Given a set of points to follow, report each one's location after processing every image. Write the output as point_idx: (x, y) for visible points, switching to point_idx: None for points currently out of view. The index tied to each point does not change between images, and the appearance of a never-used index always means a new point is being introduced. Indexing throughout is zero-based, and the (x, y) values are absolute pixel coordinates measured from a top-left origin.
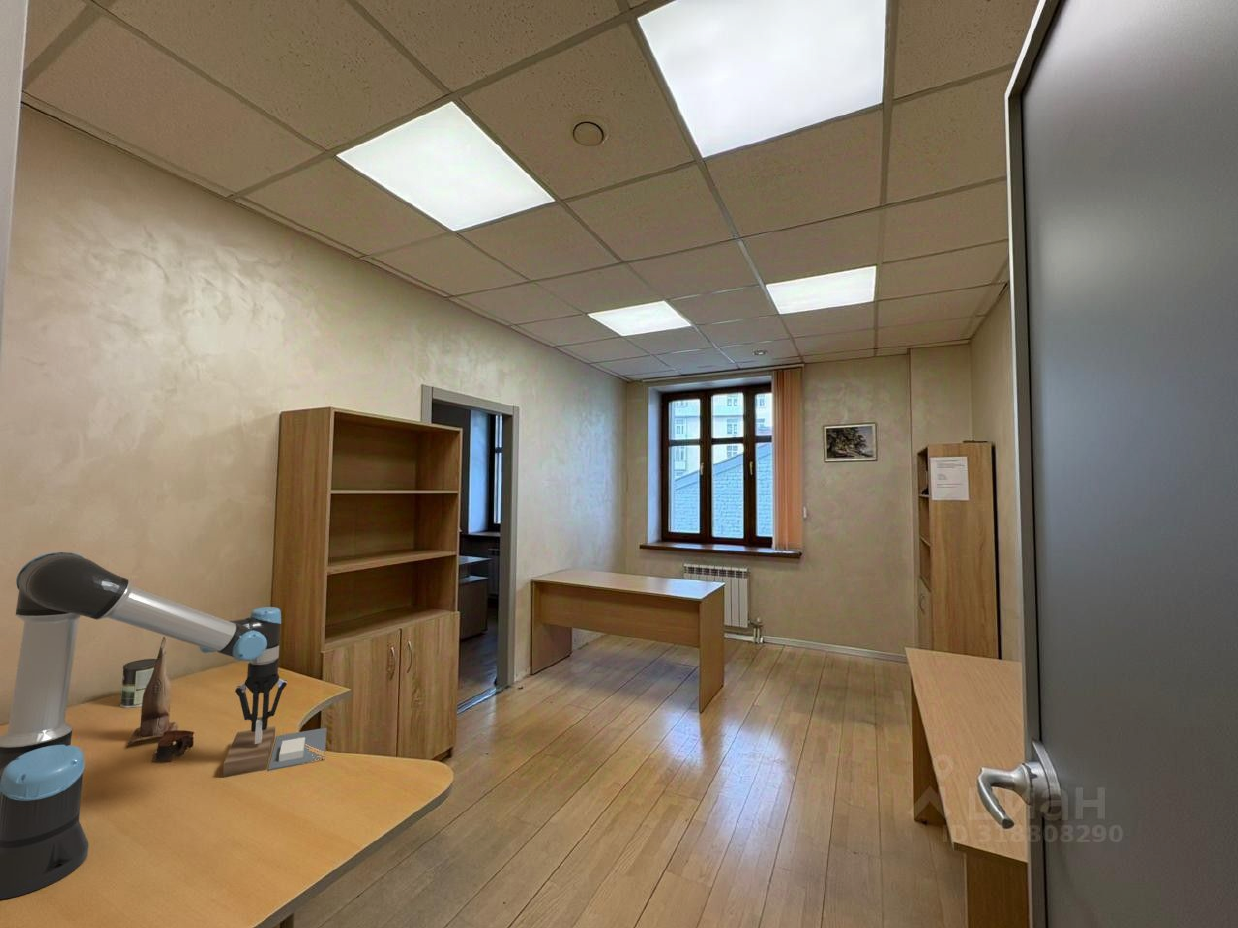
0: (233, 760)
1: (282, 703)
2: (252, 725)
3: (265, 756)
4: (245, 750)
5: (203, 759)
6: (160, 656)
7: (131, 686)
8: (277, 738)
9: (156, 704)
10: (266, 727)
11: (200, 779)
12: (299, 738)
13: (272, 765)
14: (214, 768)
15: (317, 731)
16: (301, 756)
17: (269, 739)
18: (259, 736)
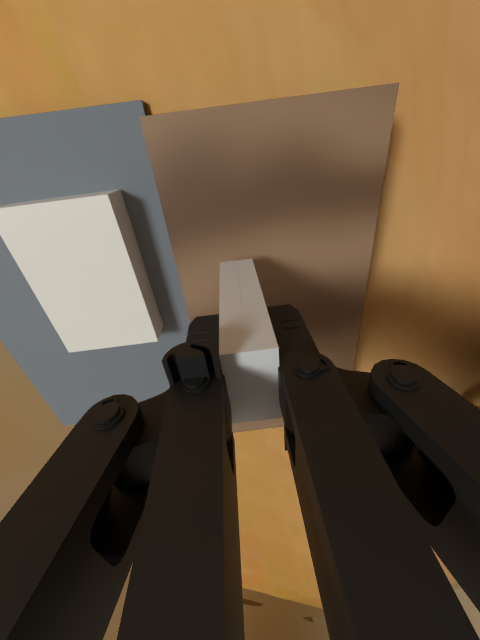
0: (342, 106)
1: (253, 531)
2: (300, 334)
3: (150, 116)
4: (291, 243)
5: (421, 314)
6: None
7: None
8: None
9: None
10: (189, 326)
11: (447, 123)
12: (90, 346)
13: (135, 148)
14: (389, 226)
15: (82, 407)
16: (16, 203)
17: None
18: (230, 279)
